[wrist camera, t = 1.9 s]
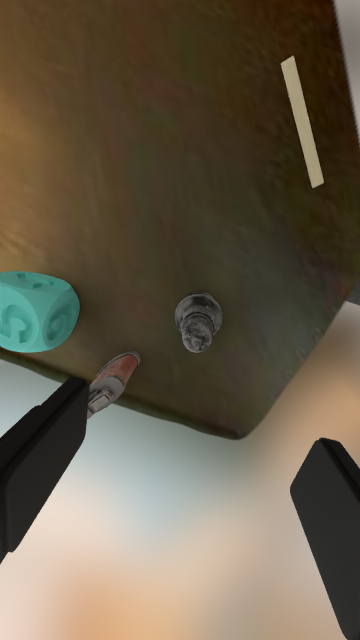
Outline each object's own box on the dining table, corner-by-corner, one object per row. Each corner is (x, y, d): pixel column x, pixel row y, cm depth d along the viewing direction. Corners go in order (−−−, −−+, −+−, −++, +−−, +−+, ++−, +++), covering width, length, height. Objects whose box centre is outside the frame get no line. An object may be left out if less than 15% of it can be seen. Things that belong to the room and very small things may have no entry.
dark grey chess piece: (189, 336, 31) (181, 385, 19) (170, 301, 29) (150, 331, 18) (227, 319, 29) (242, 361, 18) (208, 281, 28) (213, 301, 17)
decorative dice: (30, 268, 30) (-28, 274, 23) (84, 286, 30) (43, 297, 23) (27, 319, 33) (-26, 339, 25) (76, 335, 33) (38, 360, 25)
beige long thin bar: (323, 182, 24) (323, 182, 23) (312, 188, 24) (312, 187, 24) (293, 56, 21) (293, 55, 21) (280, 63, 21) (281, 63, 21)
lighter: (108, 386, 35) (73, 436, 25) (95, 371, 34) (53, 417, 25) (145, 362, 33) (121, 406, 23) (131, 345, 32) (101, 384, 23)
